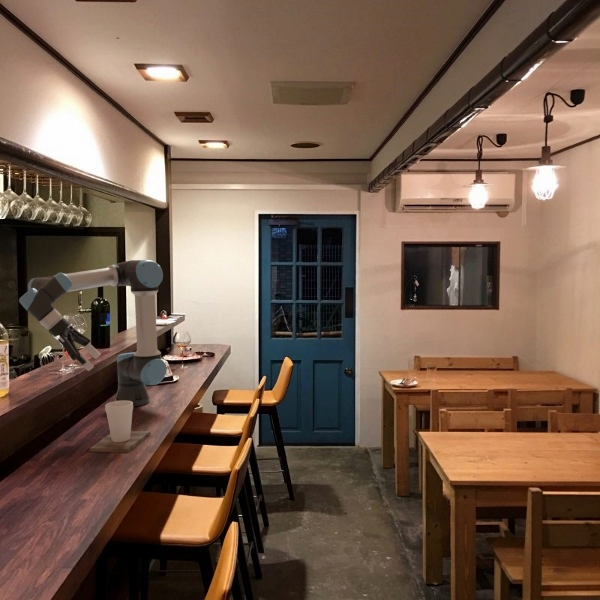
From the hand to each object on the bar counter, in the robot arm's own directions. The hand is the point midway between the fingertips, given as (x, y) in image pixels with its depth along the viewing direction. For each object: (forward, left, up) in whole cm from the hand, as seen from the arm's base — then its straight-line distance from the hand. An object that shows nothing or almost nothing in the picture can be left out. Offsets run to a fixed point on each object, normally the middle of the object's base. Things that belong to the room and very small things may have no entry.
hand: (95, 362), depth 238 cm
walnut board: (+19, +18, -25) cm, 36 cm away
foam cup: (+19, +18, -24) cm, 36 cm away
